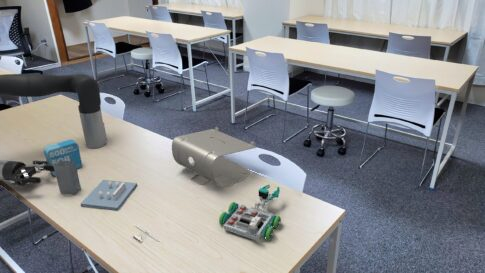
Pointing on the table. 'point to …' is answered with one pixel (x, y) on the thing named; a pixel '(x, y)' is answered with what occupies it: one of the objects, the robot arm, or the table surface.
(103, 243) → the table surface
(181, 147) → the curved metal cover
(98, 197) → the pin tray
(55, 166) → the dark grey rectangular block
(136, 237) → the picture light
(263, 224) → the robot kit
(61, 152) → the data package
